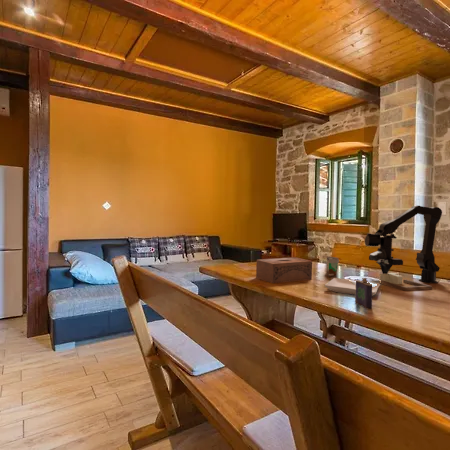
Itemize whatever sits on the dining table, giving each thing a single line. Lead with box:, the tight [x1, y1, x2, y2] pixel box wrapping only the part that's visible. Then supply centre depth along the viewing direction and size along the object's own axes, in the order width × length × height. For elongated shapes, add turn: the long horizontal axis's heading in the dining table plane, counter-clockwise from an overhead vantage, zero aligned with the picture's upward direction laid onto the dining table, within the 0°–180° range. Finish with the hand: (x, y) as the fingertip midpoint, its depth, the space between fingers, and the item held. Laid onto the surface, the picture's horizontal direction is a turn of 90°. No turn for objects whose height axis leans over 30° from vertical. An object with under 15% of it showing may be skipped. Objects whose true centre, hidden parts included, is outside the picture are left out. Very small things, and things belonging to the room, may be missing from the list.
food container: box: [325, 256, 340, 278], centre depth 182 cm, size 12×6×10 cm, turn 168°
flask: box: [354, 277, 373, 310], centre depth 122 cm, size 9×3×11 cm, turn 8°
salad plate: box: [324, 277, 381, 297], centre depth 147 cm, size 21×21×3 cm
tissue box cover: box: [255, 257, 313, 284], centre depth 170 cm, size 26×14×10 cm, turn 118°
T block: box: [378, 272, 403, 285], centre depth 166 cm, size 10×8×4 cm
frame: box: [380, 279, 433, 292], centre depth 158 cm, size 16×16×2 cm
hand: (384, 275), depth 171 cm, fingers closed
